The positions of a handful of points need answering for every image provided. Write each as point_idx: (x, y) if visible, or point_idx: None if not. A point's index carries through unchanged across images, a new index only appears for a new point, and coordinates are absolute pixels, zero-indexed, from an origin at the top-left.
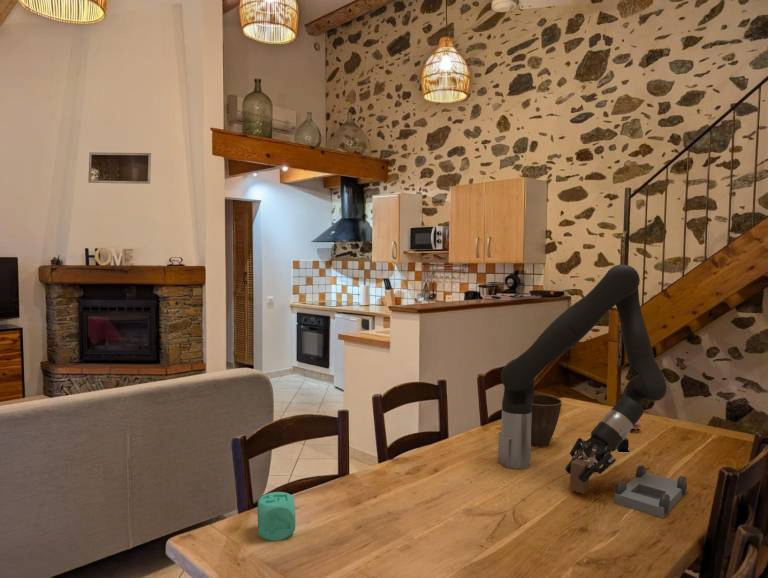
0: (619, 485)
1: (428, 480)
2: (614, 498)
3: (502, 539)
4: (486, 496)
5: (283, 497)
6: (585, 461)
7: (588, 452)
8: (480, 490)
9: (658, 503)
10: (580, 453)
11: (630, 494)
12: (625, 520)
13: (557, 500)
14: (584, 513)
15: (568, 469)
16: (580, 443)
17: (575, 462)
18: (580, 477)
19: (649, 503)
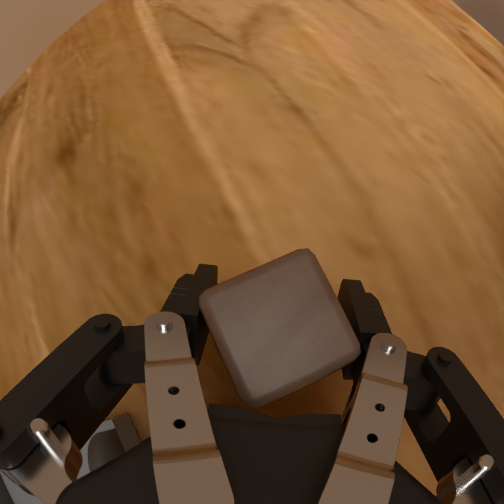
0: (96, 456)
1: (435, 34)
2: (120, 416)
3: (151, 16)
4: (341, 55)
5: None
6: (269, 378)
7: (283, 433)
8: (379, 64)
9: (5, 475)
10: (360, 383)
11: (84, 472)
12: (25, 318)
13: (245, 202)
14: (117, 222)
15: (342, 293)
16: (478, 463)
17: (281, 269)
18: (198, 267)
19: None
